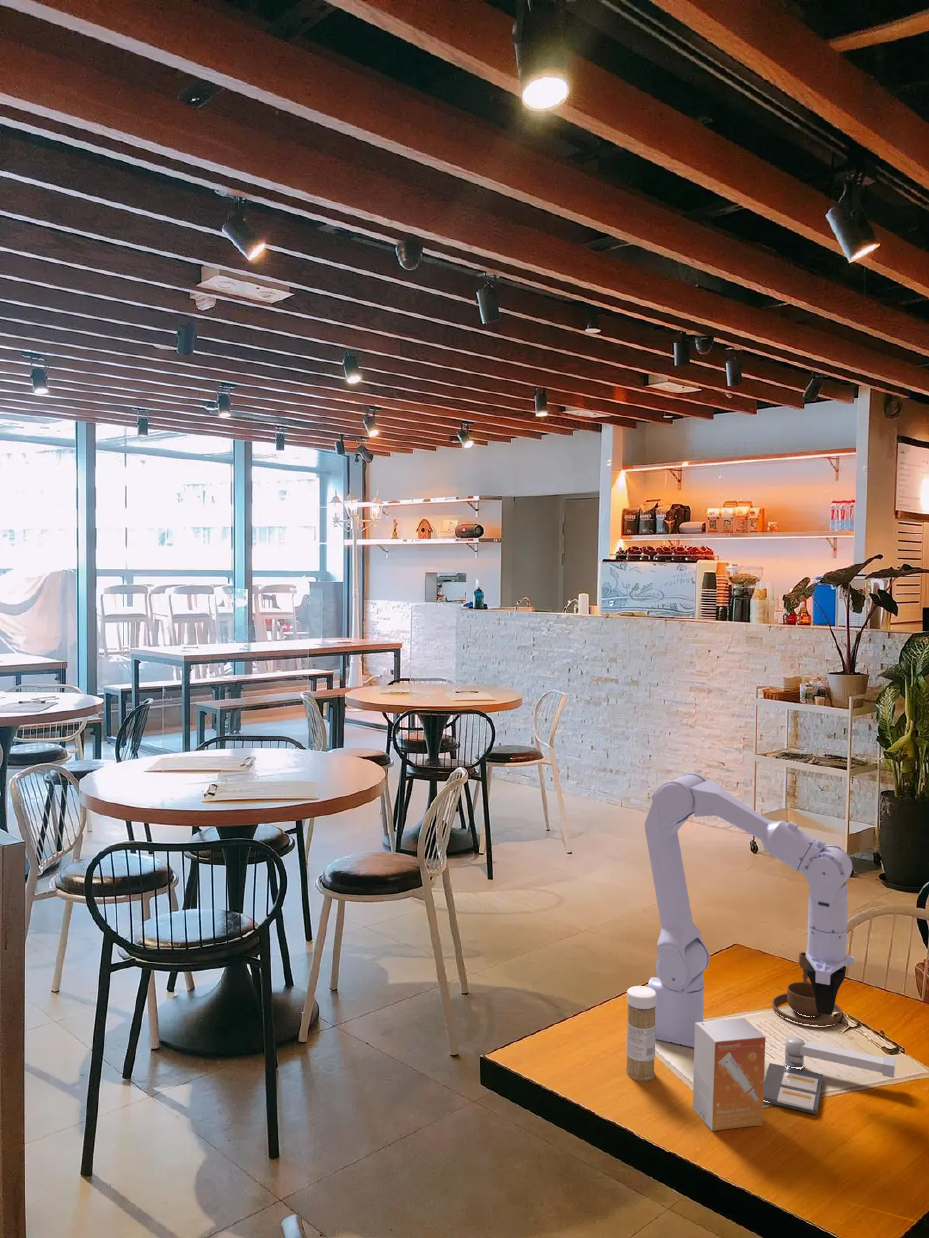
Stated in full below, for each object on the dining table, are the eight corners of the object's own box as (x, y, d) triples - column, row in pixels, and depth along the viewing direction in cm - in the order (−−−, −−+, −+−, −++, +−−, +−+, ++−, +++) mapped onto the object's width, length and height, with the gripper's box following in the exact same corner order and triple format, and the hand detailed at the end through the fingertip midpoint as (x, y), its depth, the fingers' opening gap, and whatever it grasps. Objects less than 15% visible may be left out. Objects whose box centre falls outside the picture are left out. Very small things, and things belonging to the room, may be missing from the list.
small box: (712, 1132, 134) (714, 1041, 133) (691, 1108, 140) (693, 1021, 140) (764, 1126, 136) (766, 1036, 135) (741, 1102, 142) (743, 1016, 141)
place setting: (744, 1008, 175) (745, 977, 174) (799, 979, 188) (799, 949, 188) (836, 1043, 162) (837, 1009, 161) (888, 1009, 175) (889, 977, 175)
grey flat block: (759, 1102, 142) (759, 1089, 142) (772, 1056, 156) (772, 1044, 156) (816, 1116, 138) (817, 1102, 138) (824, 1067, 152) (825, 1055, 152)
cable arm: (784, 1053, 152) (784, 1042, 152) (786, 1045, 155) (787, 1034, 155) (894, 1077, 145) (894, 1066, 145) (894, 1068, 148) (895, 1057, 148)
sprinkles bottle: (642, 1065, 152) (644, 982, 152) (661, 1078, 148) (662, 993, 148) (619, 1071, 150) (621, 987, 150) (637, 1085, 146) (639, 999, 146)
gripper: (852, 946, 140) (850, 1037, 141) (857, 915, 153) (854, 999, 154) (802, 938, 143) (799, 1027, 143) (810, 909, 156) (808, 990, 157)
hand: (824, 1012), depth 149 cm, fingers closed
